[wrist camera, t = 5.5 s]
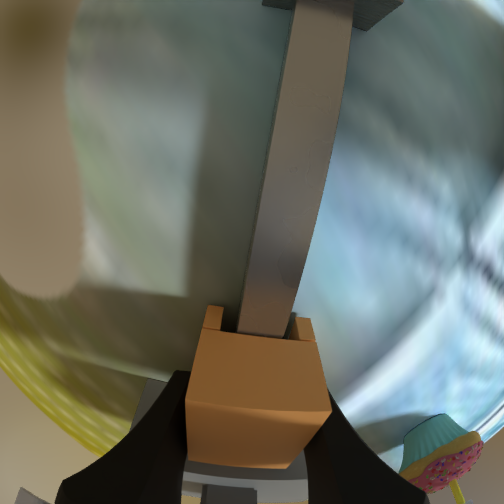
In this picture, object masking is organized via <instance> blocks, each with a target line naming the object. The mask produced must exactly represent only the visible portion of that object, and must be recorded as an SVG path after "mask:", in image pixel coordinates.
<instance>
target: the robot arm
mask: <svg viewBox="0 0 504 504" xmlns="http://www.w3.org/2000/svg"><path fill="white" fill-rule="evenodd" d="M190 376H191V372H189V371H179V370H176V371H175V372H174V373H173V375H172V377H171V378H170V380H169V381H168V383H167V385H166V386H165V388H164V389H163V391H162V392H161V393H160V395H159V396H158V398H157V399H156V400H155V402H154V403H153V405H152V406H151V407H150V409H149V410H148V411H147V412H146V414H145V415H144V416H143V417H142V418H141V420H140V421H139V422H138V423H137V424H136V426H135V427H134V428H133V429H132V430H131V431H130V432H129V433H128V434H127V435H126V436H125V437H124V438H123V439H122V440H121V441H120V442H119V443H118V444H117V445H115V446H114V447H113V448H112V449H111V450H110V451H109V452H107V453H106V454H105V455H104V456H102V457H101V458H99V459H98V460H97V461H95V462H94V463H92V464H91V465H89V466H88V467H86V468H85V469H83V470H81V471H80V472H78V473H76V474H74V475H72V476H70V477H68V478H66V479H64V480H63V481H62V483H61V485H60V487H59V490H58V493H57V496H56V500H55V504H181V495H182V483H183V473H184V466H185V461H186V457H187V453H188V448H187V432H186V410H185V398H186V393H187V389H188V384H189V380H190ZM327 390H328V388H327ZM328 394H329V399H330V403H331V408H332V412H331V414H330V415H329V416H328V418H327V419H326V421H325V422H324V423H323V425H322V426H321V427H320V429H319V430H318V431H317V432H316V434H315V435H314V436H313V438H312V439H311V440H310V441H309V443H308V444H307V445H306V446H305V447H304V455H305V461H306V467H307V477H308V504H430V502H429V499H428V496H427V494H426V492H425V491H423V490H421V489H420V488H418V487H416V486H415V485H413V484H412V483H410V482H409V481H407V480H406V479H404V478H403V477H402V476H400V475H399V474H398V473H396V472H395V471H394V470H393V469H392V468H390V467H389V466H388V465H387V464H386V463H385V462H384V461H382V460H381V459H380V458H379V457H378V456H377V455H376V454H375V453H374V452H373V451H372V450H371V449H370V448H369V447H368V445H367V444H366V443H365V442H364V441H363V440H362V439H361V437H360V436H359V435H358V434H357V432H356V431H355V430H354V428H353V427H352V426H351V425H350V423H349V422H348V420H347V419H346V417H345V416H344V414H343V413H342V411H341V410H340V408H339V407H338V405H337V404H336V402H335V400H334V399H333V397H332V395H331V394H330V392H329V390H328ZM15 504H50V503H48V502H46V501H45V500H42V499H40V498H38V497H37V496H35V495H33V494H32V493H30V492H29V491H27V490H26V489H24V488H22V487H21V488H20V490H19V492H18V495H17V498H16V501H15ZM464 504H473V501H472V500H469V501H467V502H465V503H464Z"/></svg>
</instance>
